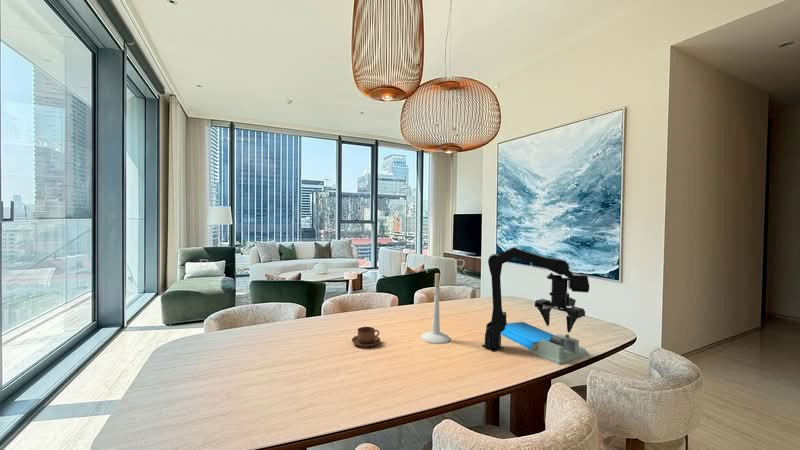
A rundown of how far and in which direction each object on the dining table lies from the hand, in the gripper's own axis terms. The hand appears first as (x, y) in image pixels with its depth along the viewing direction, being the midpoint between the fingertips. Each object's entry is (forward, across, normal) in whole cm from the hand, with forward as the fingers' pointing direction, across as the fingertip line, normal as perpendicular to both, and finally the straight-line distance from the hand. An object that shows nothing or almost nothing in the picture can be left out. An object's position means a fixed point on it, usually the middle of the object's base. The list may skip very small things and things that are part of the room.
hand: (558, 328), depth 137 cm
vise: (+11, 0, -3) cm, 11 cm away
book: (+12, +19, -6) cm, 23 cm away
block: (+10, 0, 0) cm, 10 cm away
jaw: (+10, 0, -7) cm, 12 cm away
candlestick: (+11, +39, +32) cm, 51 cm away
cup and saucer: (+11, +48, +62) cm, 80 cm away
